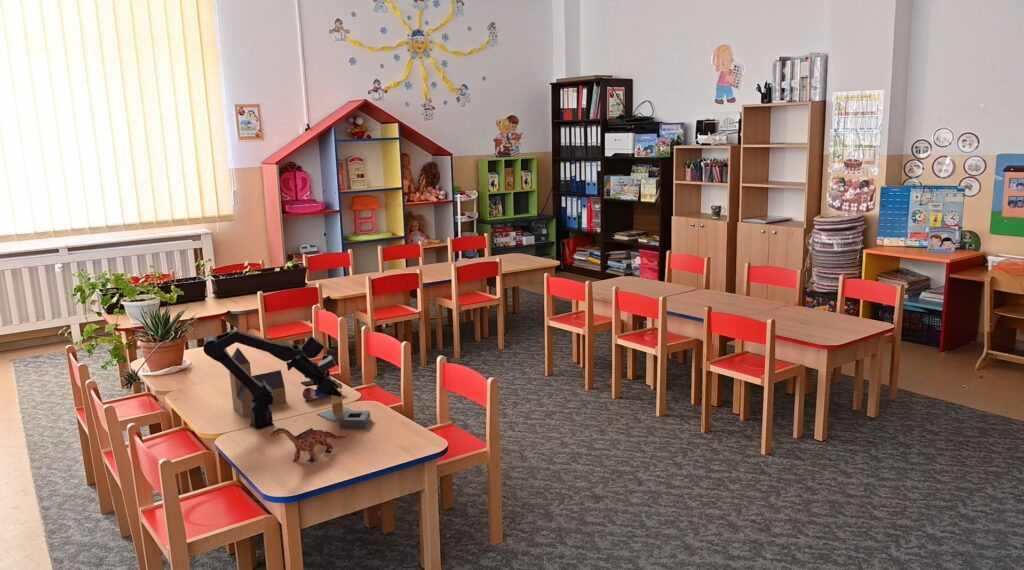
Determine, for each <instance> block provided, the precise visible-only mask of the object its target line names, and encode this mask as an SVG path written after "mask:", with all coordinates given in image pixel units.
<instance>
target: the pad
mask: <svg viewBox="0 0 1024 570" xmlns="http://www.w3.org/2000/svg"><path fill="white" fill-rule="evenodd" d="M345 411H354V410H353V409H351V408H350V407H346V406H345V405H343V414H344V413H345ZM343 414H338V415H333V412H332V408H331V409H327V410H324V411H321V412H317V413H316V415H317V416H320V417H321V418H323V419H326V420H327V421H330V422H332V423H334V422H337V421H339V420H340V418H341V417H342V416H343Z"/></svg>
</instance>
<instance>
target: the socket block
mask: <svg viewBox="0 0 1024 570" xmlns="http://www.w3.org/2000/svg"><path fill="white" fill-rule="evenodd" d="M371 418H372V417H371V410H353V411H345V413H344V414H343V416H342V417H341V418H340V420H338V422H339V430H366V429H367V426H368V425H369V423H370V422H371ZM369 421H370V422H369Z"/></svg>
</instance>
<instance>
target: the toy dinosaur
mask: <svg viewBox="0 0 1024 570" xmlns="http://www.w3.org/2000/svg"><path fill="white" fill-rule="evenodd" d="M280 434H284V435H285V436H286V438H288V440H290V442H291V443H292V444H294V447H295V453H294V458H293V459H292V460H291V462H292V463H294V464H295V463H296V464H297V463H298V462H299V461H300V460H301V452H307V453H308V455H309V458H308V459H307V460H305V463H308V464H311V463H313V462H315V461H316V457H315V449H314V448H315V447H316V446H318V445H320V446H323V447H326V449H325V450H324V453H325V454H331V453H332V452H333V450H334V447H333V444H332V443H330V442H329V441H327V439H333V440H341V441H343V440H344V439H346V438H347V437H348V436H349V435H350V433H348V434H345V435H336V434H334V433H333V432H331V431H324V430H322V429H313V428H312V427H310V428H309V429H307V430H305V431H303V432H300V433H299V434H298V435H295V434H292V432H290V431H289V430H288V429H286V428H284V427H283V428H282V427H281V428H280V427H278V428H273V429H272V431H271V433H270V434H269V438H271V439H272V438H274V437H276V436H278V435H280Z"/></svg>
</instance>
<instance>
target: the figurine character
mask: <svg viewBox="0 0 1024 570" xmlns="http://www.w3.org/2000/svg"><path fill="white" fill-rule="evenodd" d="M332 379H333V381H334V382H335V383H336V384H337V385H338V386H339V388H341V390H342V389H343V384H342V383H341V382H339V381H337V380H336V379H334V378H332ZM300 384H301V385H303V386H304V387H306V388H304V390H303V391H302V397H303V399H305V400H306V401H312V400H313V399H314V398H317V397H326V396H328V395H327V394H320V393H319V392H318V391H317V388H312V387H313V386H316V385H317V384H318V383H317V384H316V385H315V384H313V382H312V381H311V380H310V379H309V380H304V381H301V382H300ZM329 396H330V397H331V395H329Z"/></svg>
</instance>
